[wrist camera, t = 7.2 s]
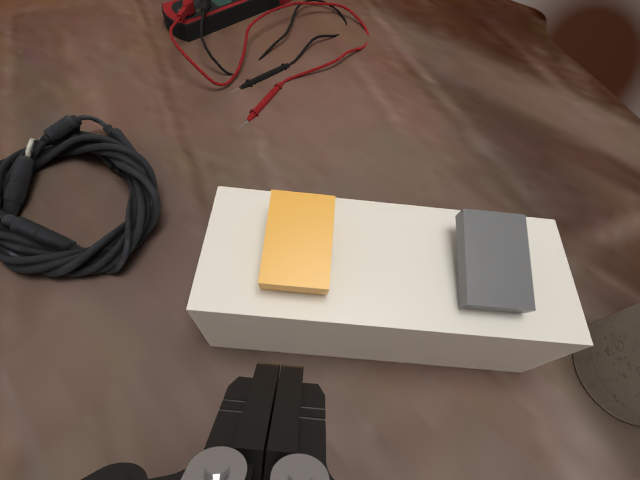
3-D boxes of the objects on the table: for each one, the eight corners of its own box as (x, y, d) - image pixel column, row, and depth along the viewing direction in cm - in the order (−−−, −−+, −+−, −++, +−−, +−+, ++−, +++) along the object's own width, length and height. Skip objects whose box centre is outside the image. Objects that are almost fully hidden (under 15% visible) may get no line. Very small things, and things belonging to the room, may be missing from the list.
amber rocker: (332, 208, 25) (335, 196, 23) (326, 296, 23) (329, 289, 21) (272, 202, 25) (271, 189, 23) (260, 290, 22) (257, 283, 21)
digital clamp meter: (120, -8, 44) (283, -59, 54) (133, 29, 48) (284, -24, 58) (236, 97, 37) (403, 16, 46) (241, 132, 40) (394, 51, 50)
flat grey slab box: (511, 224, 25) (525, 214, 24) (519, 314, 23) (535, 310, 22) (452, 218, 25) (463, 208, 23) (455, 308, 23) (467, 304, 21)
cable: (196, 240, 33) (185, 212, 29) (26, 332, 28) (-13, 312, 24) (116, 125, 39) (98, 89, 36) (-35, 183, 34) (-74, 149, 31)
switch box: (499, 264, 34) (553, 215, 27) (520, 372, 29) (593, 345, 22) (233, 239, 33) (219, 181, 26) (210, 346, 28) (186, 309, 21)
